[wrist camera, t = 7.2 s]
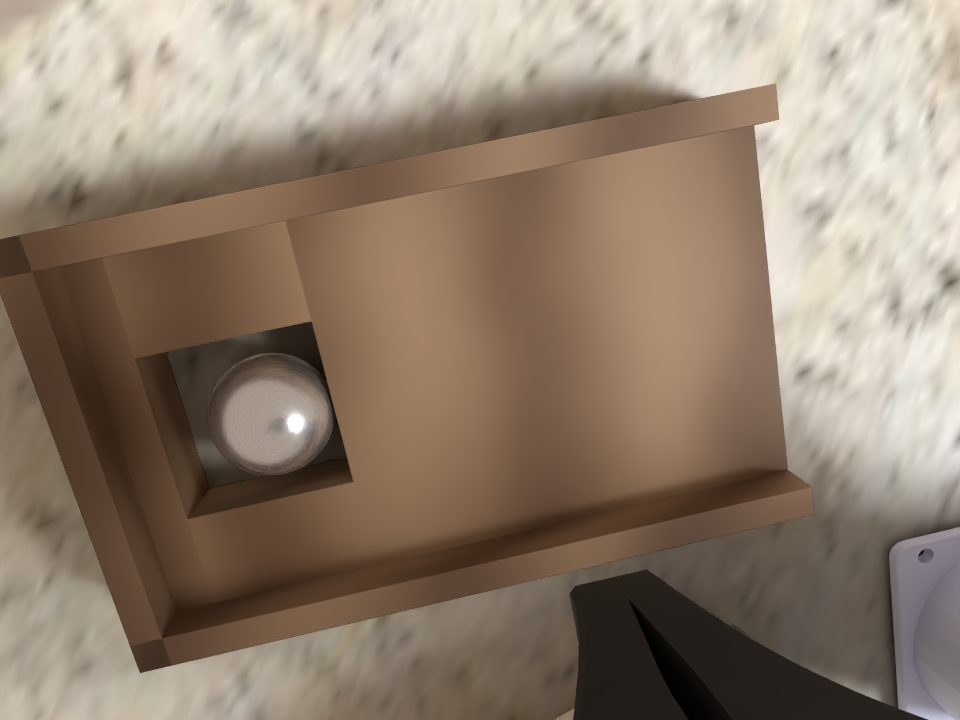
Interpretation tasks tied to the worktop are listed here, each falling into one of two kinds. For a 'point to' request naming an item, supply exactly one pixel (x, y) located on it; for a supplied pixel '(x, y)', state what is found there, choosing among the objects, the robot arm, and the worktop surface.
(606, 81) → the worktop surface
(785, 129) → the worktop surface
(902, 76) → the worktop surface
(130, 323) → the board
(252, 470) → the ball
